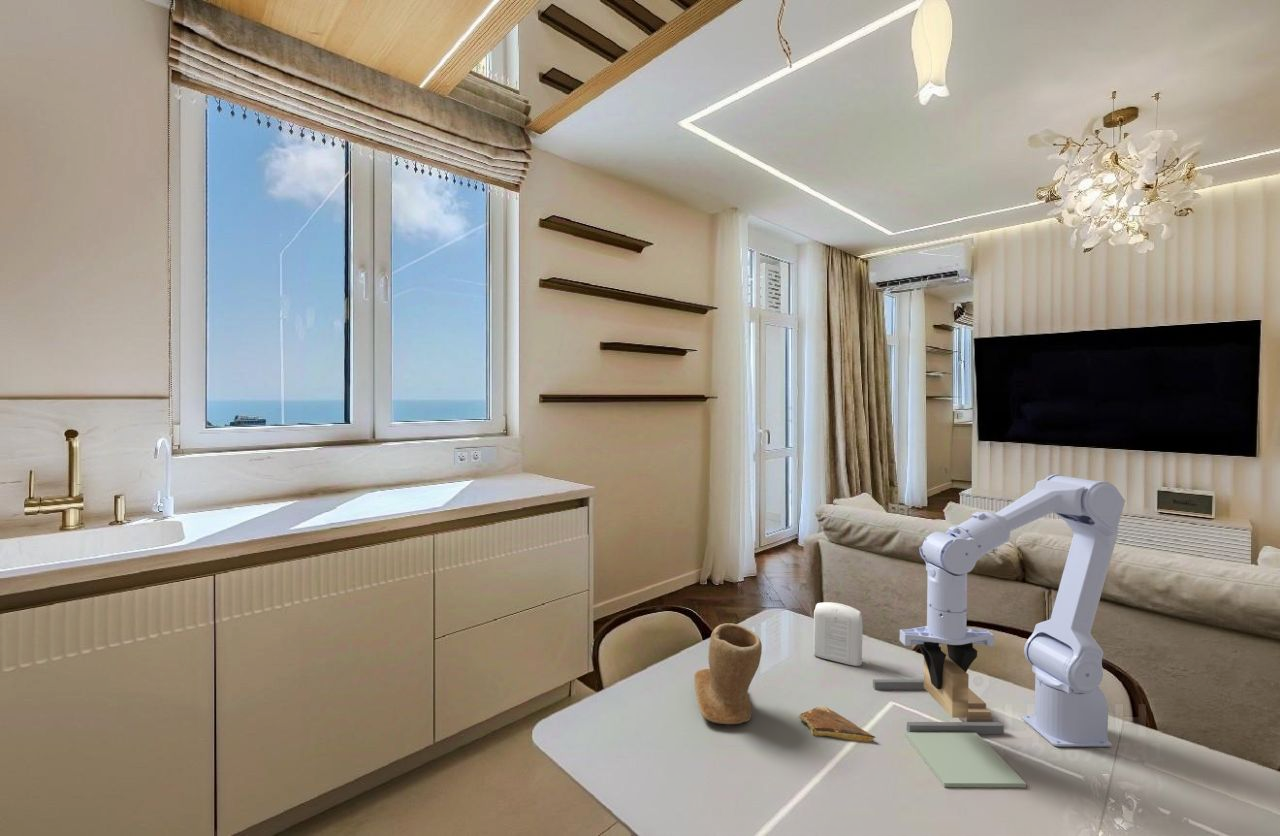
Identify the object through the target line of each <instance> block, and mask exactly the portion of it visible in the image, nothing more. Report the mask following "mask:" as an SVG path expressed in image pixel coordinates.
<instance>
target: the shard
mask: <svg viewBox="0 0 1280 836" xmlns="http://www.w3.org/2000/svg"><path fill="white" fill-rule="evenodd" d="M798 718H799V719H800V720H801V721H802V722H803V723H805V724H806V723H807V724H806V725H807V727H808V728H809V729H810V732H811V734H812V736H815V737H816V736H817V737H818V736H821V737H825V736H826V737H832V738H837V739H838V738H839V739H843V740H849V741H856V742H869V743H870V742H873V739H875V738H876V735H875V736H874V735H872V734H871V733H870V732H868V731H866V730H864V729H862V728H860V727H859V726H858V725H856V724H855V723H854V722H852V721H850V720H849V719H847V718H846V717H844V716H842V715H841V714H839V713H837V712H835V711H834V710H831V709H829V708H828V707H822V706H821V707H815V708H812V709H810V710H807V711H804V712H802V713H800V714H799V715H798Z"/></svg>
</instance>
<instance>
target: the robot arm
mask: <svg viewBox="0 0 1280 836" xmlns="http://www.w3.org/2000/svg"><path fill="white" fill-rule="evenodd" d="M1125 502H1126V500H1125V498H1124V497H1123V495H1122V494H1121V493H1120V491H1119V490H1118V488H1117V487H1116V486H1115V485H1114V484H1113V483H1111V482H1109V481H1102V480H1093V479H1087V478H1086V479H1085V478H1079V477H1073V476H1068V475H1063V474H1060V473H1053V474H1051V475H1048V476H1047V477H1045V479H1041V480H1038V481H1036V483H1035V488H1033V489H1032V490H1030V491H1029V492H1027V493H1025V494H1024V495H1022V496H1021V497H1019V498H1018V499H1016V500H1014V501H1013V502H1011V503H1010V504H1008V505H1007V506H1005V507H1003V508H1002V509H1000V510H998V511H997V512H995V513H994V512H991V511H982V512H981V511H976V512H973V513H972V514H971V517H970V518H968V519H966V520H965V521H962V522H960V524H958V525H956V526H955V525H952V526H950V527H948V530H947V531H945V532H942V531H935V532H932V533H930V534H929V535H928V536H926V538H924V541H923V542H922V545H921V546H920V547H919V548H918V549H919V555H920V556H921V558H922V560H924V562H925V571H927V577H926V578H927V580H926V581H927V584H926V585H927V586H926V587H927V588H926V589H927V590H926V591H927V593H926V596H927V597H926V601H927V602H926V607H927V608H926V625H924V626H920V627H919V626H918V627H914V628H913V627H912V628H908V629H907V628H906V629H899V641H900V642H901V644H902V645H904V646H905V647H910V646H912V645H917V646H918V648H919V650H920V652H921V654H922V656H923V660H924V659H925V661H926V664H927V667H928V670H929V674H930V679H931V684H932V685H933V686H934V687H935V688H936V689H941V688H942V673H943V665H944V661H945V658H946V656H948V657H949V658H950V659H951V660H952V661H953V662H955V663H956V664H957V665H958V666H959V667H960V668H962V669H963V670H964V671H965V672H966V673H968V672H967V671H968V670H969V668H970V666H971V665H972V663H973V662H974V661H975V660H976V659H977V658H978V650H977V649H976V648H975V647H974V645H985V646H986V647H994V646H995V635H994V634H993V633H992V632H990V631H989V630H988V629H976V628H969V627H967V617H968V616H967V614H968V611H967V609H968V607H967V606H968V605H967V604H968V603H967V602H968V573H971V572H972V571H973V570H974V568H975V567H976V564H977V561H979V560H980V559H981V557H982V556H984V555H986V554H988V553H989V552H992V551H993V550H995V549H997V548H999V547H1001V546H1002V545H1005V544H1006V543H1007V542H1009V541H1010V537H1011V532H1012V531H1014V530H1016V529H1019V528H1021V527H1023V526H1026V525H1028V524H1030V523H1032V522H1034V521H1036V520H1039V519H1041V518H1043V517H1045V516H1048V515H1050V514H1053V513H1054V514H1056V516H1058V517H1059V518H1060V519H1062V520H1063V521H1064V522H1065V523H1066V525H1067V526H1068V527H1069V528H1070V529H1071V531H1072V532H1073V536H1072V538H1071V539H1072V540H1071V543H1070V547H1069V551H1068V554H1067V558H1066V561H1065V563H1064V565H1065V566H1064V568H1063V572H1062V576H1061V579H1060V582H1059V586H1058V590H1057V594H1056V598H1055V600H1054V605H1053V609H1052V612H1051V615H1050V619H1047V620H1044V621H1041V622H1038V623H1036V624H1035V626H1034V629H1033V632H1032V634H1031V635H1030V636H1029V637H1028V639H1027V640H1026V642H1025V644H1024V649H1023V652H1024V653H1023V655H1024V657H1025V659H1026V661H1027V662H1028V663H1029V664H1030V665H1031V666H1032V667H1031V671H1032V673H1034V674H1035V676H1034V678H1035V679H1034V681H1035V682H1034V683H1035V684H1034V685H1035V686H1034V714H1033V715H1028V714H1026V715H1022V716H1021V719H1022V720H1024V722H1026V724H1028V725H1029V726H1030V727H1031V728H1033V729H1034V730H1035V731H1037V732H1038V734H1039V735H1040V736H1042V737H1043V738H1045V740H1047V741H1048V742H1049V743H1050V744H1052V746H1055V747H1105V748H1106V747H1112V746H1113V744H1112V742H1111V741H1110V740H1109V739H1108V736H1109V735H1108V733H1109V732H1108V729H1109V728H1108V727H1109V706H1108V705H1109V704H1108V700H1107V698H1106V695H1105V693H1104V691H1103V690H1102V689H1101V688H1100V684H1101V682H1102V681H1103V678H1104V677H1103V676H1104V669H1103V665H1102V664H1103V657H1104V654H1105V653H1104V651H1103V649H1102V648H1101V646H1100V645H1099V643H1098V642H1097V641H1096V639H1095V638H1094V637H1093V635H1092V628H1093V624H1094V622H1095V617H1096V614H1097V611H1098V607H1099V603H1100V600H1101V596H1102V593H1103V588H1104V585H1105V581H1106V577H1107V574H1108V570H1109V568H1110V567H1109V566H1110V563H1111V560H1112V556H1113V553H1114V550H1115V546H1116V542H1117V538H1118V534H1119V525H1120V521H1121V516H1122V514H1123V510H1124V507H1125ZM940 645H946V647H947V654H946V653H945V652H944V651H943V650H942V647H941V646H940Z"/></svg>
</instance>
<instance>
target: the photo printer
mask: <svg viewBox="0 0 1280 836" xmlns="http://www.w3.org/2000/svg"><path fill="white" fill-rule="evenodd" d="M812 640H813V641H812V642H813V643H812V644H813V646H812V647H813V650H812V652H813V653H812V654H813V656H815V657H818V658H821V659H824V660H829V661H833V662H837V663H842V664H844V665H850V666H853V667H860V666H861V665H862V662H863V617H862V612H861V610H858V609H857V608H855V607H852V606H850V605H846V604H843V603H839V602H831V601H829V602H828V601H827V602H825V601H824V602H817V603H816V604H815V609H814V611H813V639H812Z"/></svg>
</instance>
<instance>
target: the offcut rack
mask: <svg viewBox="0 0 1280 836" xmlns="http://www.w3.org/2000/svg"><path fill="white" fill-rule="evenodd" d="M872 688H873V689H874V690H882V691H883V690H889V691H890V690H891V691H892V690H893V691H894V690H898V691H899V690H902V691H903V690H908V691H909V690H925V691H927V690H926V689H925V688H924V678H923V679H920V678H919V679H916V678H915V679H909V678H908V679H900V678H899V679H897V678H896V679H886V678H885V679H883V678H882V679H880V678H879V679H875V678H874V679H872ZM958 719H959V720H960V721H907V722H906V731H907V732H947V733H977V734H978V735H1004V733H1005V731H1004V729H1005V726H1004V724H1003V723H1002V722H1000V721H995V720H994V717H993V716H992V715H991V711H990V710H988V708H987V703H986V702H985V701H984V700H983V699H981V697H979V695H977V694H976V693H975V692H974V691H972V689H971V688H970V687H968V718H958Z"/></svg>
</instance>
